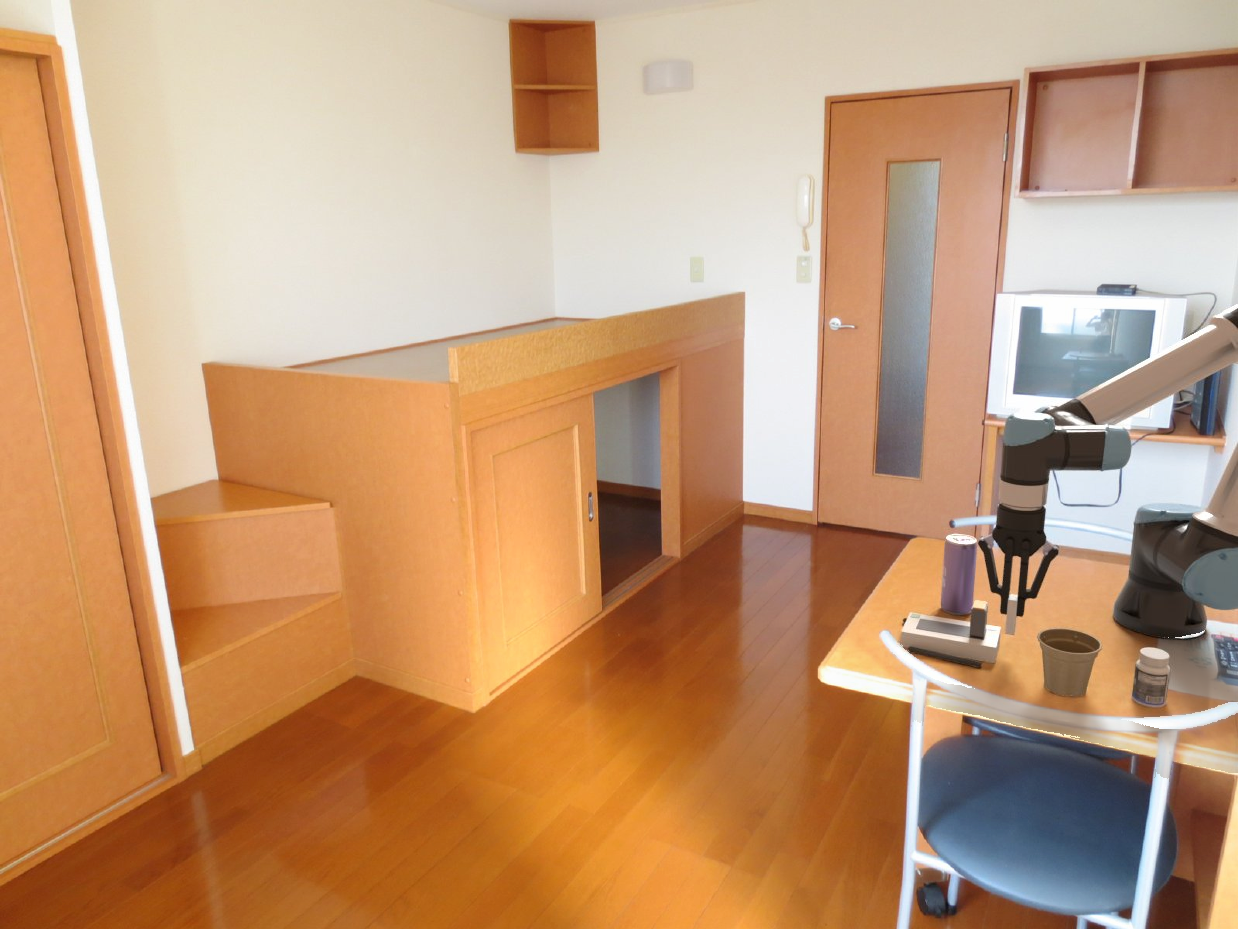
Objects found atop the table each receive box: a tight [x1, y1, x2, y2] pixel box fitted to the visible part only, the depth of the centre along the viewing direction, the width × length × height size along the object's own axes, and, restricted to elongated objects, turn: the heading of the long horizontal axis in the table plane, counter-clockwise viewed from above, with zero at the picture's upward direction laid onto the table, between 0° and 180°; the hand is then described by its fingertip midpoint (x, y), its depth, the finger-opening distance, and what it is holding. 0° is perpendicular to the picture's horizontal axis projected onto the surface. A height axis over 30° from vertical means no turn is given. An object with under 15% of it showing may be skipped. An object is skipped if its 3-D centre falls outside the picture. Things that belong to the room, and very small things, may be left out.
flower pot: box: [1036, 627, 1103, 698], centre depth 144 cm, size 9×9×9 cm
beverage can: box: [940, 533, 978, 616], centre depth 174 cm, size 6×6×15 cm
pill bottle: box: [1131, 646, 1171, 709], centre depth 140 cm, size 5×5×8 cm
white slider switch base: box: [900, 611, 1002, 664], centre depth 161 cm, size 16×9×3 cm, turn 62°
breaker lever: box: [969, 599, 989, 637], centre depth 158 cm, size 2×4×5 cm, turn 152°
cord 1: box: [907, 646, 983, 669], centre depth 156 cm, size 12×1×1 cm, turn 56°
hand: (1010, 631), depth 156 cm, fingers closed
